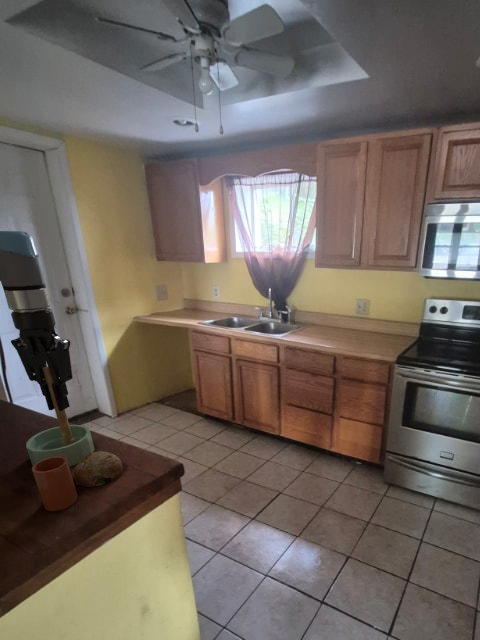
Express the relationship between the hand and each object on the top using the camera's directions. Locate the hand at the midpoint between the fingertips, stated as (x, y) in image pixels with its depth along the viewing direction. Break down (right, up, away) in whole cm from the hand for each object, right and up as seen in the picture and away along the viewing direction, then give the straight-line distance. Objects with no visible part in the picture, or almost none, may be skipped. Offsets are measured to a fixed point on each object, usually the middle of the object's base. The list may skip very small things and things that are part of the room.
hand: (59, 408), depth 89 cm
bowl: (-2, -13, +6) cm, 14 cm away
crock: (+8, -20, -11) cm, 24 cm away
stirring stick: (0, -11, +5) cm, 12 cm away
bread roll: (+11, -16, -2) cm, 20 cm away
